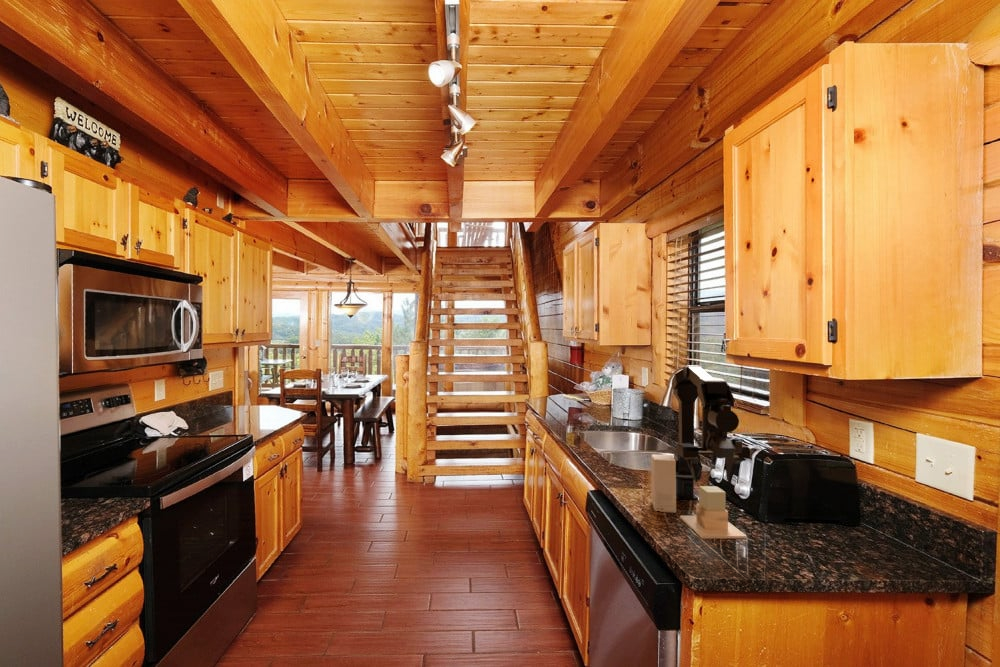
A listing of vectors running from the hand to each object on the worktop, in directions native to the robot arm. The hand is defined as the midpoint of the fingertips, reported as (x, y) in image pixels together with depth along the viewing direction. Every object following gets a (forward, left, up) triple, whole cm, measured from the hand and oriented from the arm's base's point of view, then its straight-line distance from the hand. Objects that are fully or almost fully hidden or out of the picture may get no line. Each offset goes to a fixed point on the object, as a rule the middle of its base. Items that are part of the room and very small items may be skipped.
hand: (712, 481), depth 132 cm
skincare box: (-15, -8, -13) cm, 21 cm away
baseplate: (0, 0, -13) cm, 13 cm away
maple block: (0, 0, -12) cm, 12 cm away
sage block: (0, 0, -7) cm, 7 cm away
